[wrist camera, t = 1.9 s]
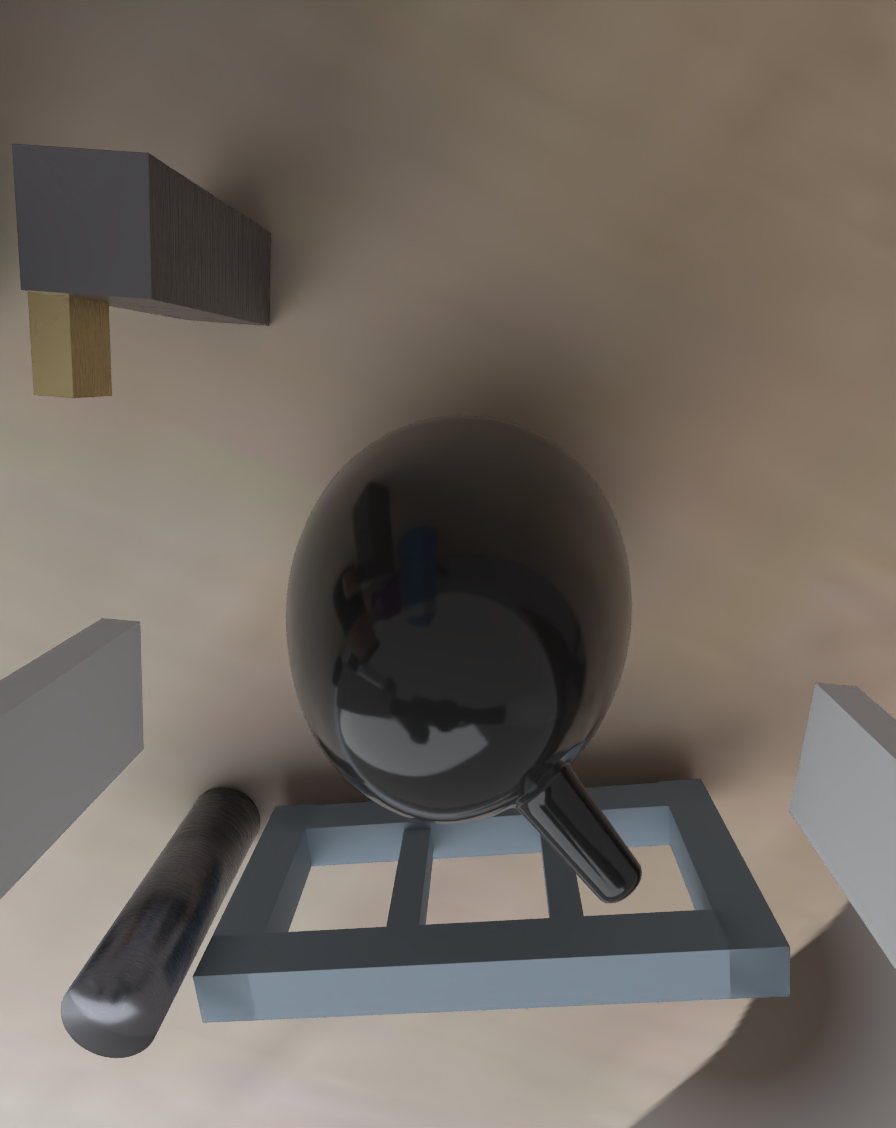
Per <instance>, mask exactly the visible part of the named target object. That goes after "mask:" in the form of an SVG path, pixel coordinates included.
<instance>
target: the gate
mask: <svg viewBox="0 0 896 1128" xmlns="http://www.w3.org/2000/svg"><path fill="white" fill-rule="evenodd" d="M586 789H587V791H588V792H589V794H590V795H591V796H592V798H593V799H594V801H595V802H596V803H597V805H598V806H599V808H600V809H601V810H602V812H603V813H604V815H605V816H606V817H607V819H608V820H609V822H610V823H611V825H612V826H613V827H614V829H615V830H616V832H617V833H618V834H619V836H620V837H621V839H622V840H623V841H624V843H625V844H626V846H627V847H640V846H656V845H670V846H671V849H672V851H673V854H674V856H675V859H676V861H677V864H678V866H679V869H680V872H681V874H682V877H683V879H684V882H685V884H686V887H687V889H688V892H689V895H690V897H691V900H692V902H693V905H694V907H695V910H693V911H674V912H655V913H637V914H618V915H599V916H583V910H582V904H581V899H580V893H579V888H578V882H577V877H576V873H575V872H574V871H573V870H572V868H571V867H570V866H569V865H568V864H567V863H566V862H565V861H564V860H563V859H562V857H561V856H560V855H559V854H558V853H557V852H556V851H555V850H554V849H553V848H552V846H551V845H550V844H549V843H548V842H547V841H546V840H545V839H544V838H543V837H542V836H541V834H540V833H539V832H538V831H537V830H536V829H535V828H534V827H533V826H532V825H531V824H530V823H529V821H528V820H527V819H526V818H525V817H524V816H523V815H522V814H521V813H520V812H519V811H518V810H517V809H516V808H510V809H508V810H506V811H504V812H501V813H499V814H497V815H495V816H492V817H489V818H486V819H481V820H476V821H470V822H464V823H455V824H438V823H429V822H423V821H419V820H414V819H411V818H408V817H405V816H402V815H399V814H397V813H394V812H392V811H390V810H388V809H386V808H384V807H382V806H380V805H378V804H377V803H375V802H374V801H373V802H358V803H343V804H327V805H315V804H307V805H292V806H277V807H275V809H274V811H273V813H272V815H271V817H270V819H269V821H268V823H267V825H266V827H265V829H264V831H263V833H262V836H261V838H260V840H259V842H258V844H257V846H256V848H255V850H254V852H253V854H252V856H251V858H250V860H249V862H248V864H247V866H246V868H245V870H244V872H243V874H242V877H241V879H240V881H239V883H238V885H237V887H236V889H235V891H234V893H233V895H232V897H231V899H230V901H229V903H228V905H227V907H226V909H225V911H224V913H223V915H222V918H221V920H220V922H219V924H218V926H217V928H216V930H215V932H214V934H213V936H212V938H211V940H210V942H209V944H208V946H207V948H206V950H205V952H204V954H203V956H202V959H201V961H200V963H199V965H198V967H197V969H196V971H195V973H194V975H193V980H194V984H195V989H196V994H197V998H198V1003H199V1008H200V1012H201V1017H202V1022H203V1023H207V1022H229V1021H251V1020H273V1019H295V1018H317V1017H339V1016H361V1015H383V1014H405V1013H428V1012H450V1011H472V1010H494V1009H516V1008H538V1007H560V1006H582V1005H604V1004H626V1003H648V1002H670V1001H692V1000H714V999H737V998H759V997H779V996H780V997H781V996H790V946H789V944H788V942H787V940H786V938H785V936H784V934H783V933H782V931H781V929H780V927H779V925H778V923H777V921H776V919H775V918H774V916H773V914H772V912H771V910H770V908H769V906H768V904H767V902H766V901H765V899H764V897H763V895H762V893H761V891H760V889H759V887H758V886H757V884H756V882H755V880H754V878H753V876H752V874H751V872H750V870H749V869H748V867H747V865H746V863H745V861H744V859H743V857H742V855H741V854H740V852H739V850H738V848H737V846H736V844H735V842H734V840H733V838H732V837H731V835H730V833H729V831H728V829H727V827H726V825H725V823H724V822H723V820H722V818H721V816H720V814H719V812H718V810H717V808H716V806H715V805H714V803H713V801H712V799H711V797H710V795H709V793H708V791H707V790H706V788H705V786H704V784H703V782H702V780H701V779H687V780H672V781H658V783H647V784H632V785H617V786H601V787H586ZM539 852H542V860H543V868H544V877H545V885H546V894H547V903H548V911H549V918H543V919H525V920H506V921H488V922H469V923H450V924H432V925H426V916H427V907H428V898H429V889H430V879H431V870H432V861H433V859H439V858H456V857H473V856H489V855H506V854H523V853H539ZM389 861H398V866H397V871H396V877H395V882H394V888H393V893H392V899H391V904H390V910H389V916H388V921H387V927H376V928H357V929H338V930H320V931H301V932H288V930H289V928H290V925H291V922H292V919H293V916H294V914H295V911H296V908H297V905H298V902H299V900H300V897H301V894H302V891H303V888H304V885H305V883H306V880H307V877H308V874H309V871H310V869H311V866H322V865H339V864H356V863H372V862H389Z"/></svg>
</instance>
